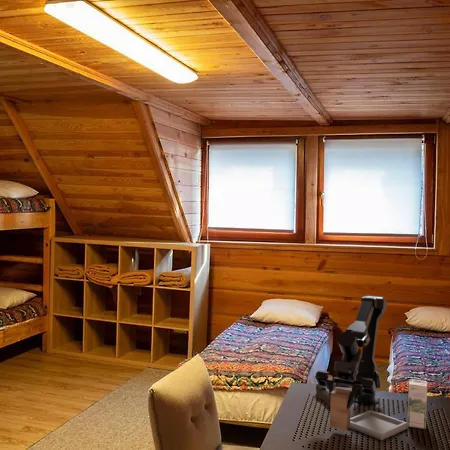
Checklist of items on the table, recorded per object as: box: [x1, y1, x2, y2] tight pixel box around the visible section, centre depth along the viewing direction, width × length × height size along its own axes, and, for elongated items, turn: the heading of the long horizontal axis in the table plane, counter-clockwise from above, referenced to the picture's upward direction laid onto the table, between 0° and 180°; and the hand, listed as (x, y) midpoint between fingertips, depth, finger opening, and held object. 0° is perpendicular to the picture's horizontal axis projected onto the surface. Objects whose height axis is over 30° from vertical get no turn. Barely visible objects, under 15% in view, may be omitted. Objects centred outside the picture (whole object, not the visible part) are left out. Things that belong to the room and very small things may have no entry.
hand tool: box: [315, 383, 330, 407], centre depth 208 cm, size 19×4×5 cm, turn 11°
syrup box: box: [407, 378, 428, 430], centre depth 188 cm, size 6×6×14 cm
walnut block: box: [329, 387, 352, 431], centre depth 180 cm, size 5×5×11 cm
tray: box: [349, 409, 408, 441], centre depth 186 cm, size 14×14×2 cm
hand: (339, 406), depth 179 cm, fingers closed on walnut block, 5 cm apart
